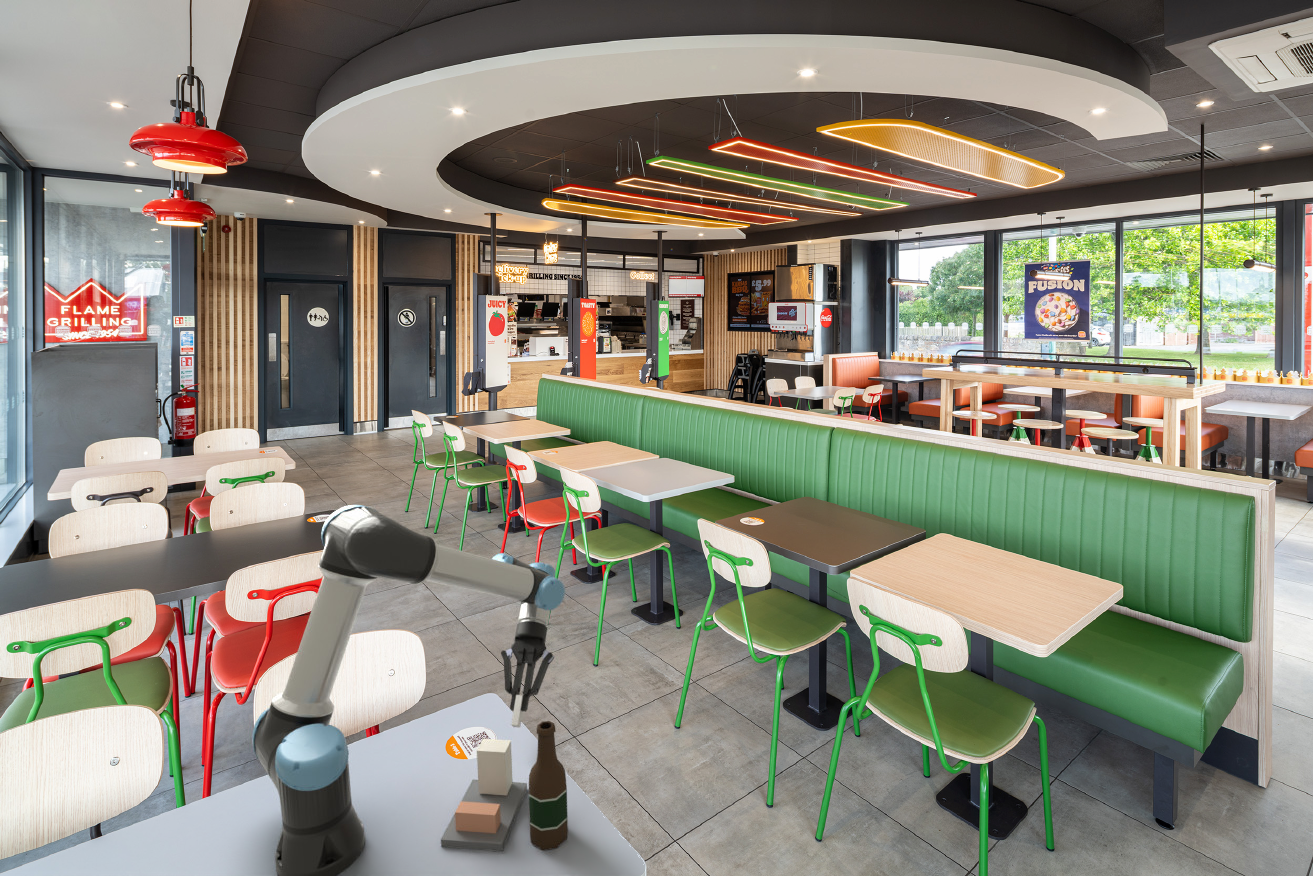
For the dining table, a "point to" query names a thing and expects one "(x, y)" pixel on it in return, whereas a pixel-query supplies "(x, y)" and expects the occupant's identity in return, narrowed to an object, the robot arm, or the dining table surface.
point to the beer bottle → (547, 793)
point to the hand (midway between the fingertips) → (515, 726)
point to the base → (508, 815)
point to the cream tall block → (494, 766)
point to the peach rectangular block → (477, 817)
